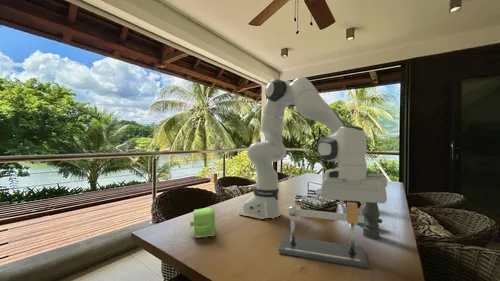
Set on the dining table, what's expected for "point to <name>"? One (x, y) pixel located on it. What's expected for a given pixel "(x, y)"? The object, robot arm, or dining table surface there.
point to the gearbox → (204, 222)
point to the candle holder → (371, 221)
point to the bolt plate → (324, 251)
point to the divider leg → (352, 222)
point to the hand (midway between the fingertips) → (352, 213)
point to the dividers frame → (315, 214)
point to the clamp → (365, 220)
